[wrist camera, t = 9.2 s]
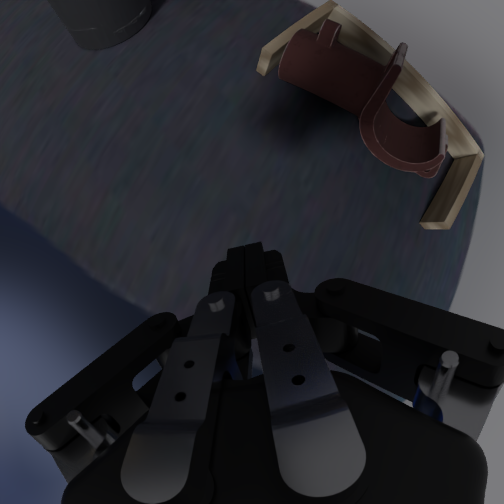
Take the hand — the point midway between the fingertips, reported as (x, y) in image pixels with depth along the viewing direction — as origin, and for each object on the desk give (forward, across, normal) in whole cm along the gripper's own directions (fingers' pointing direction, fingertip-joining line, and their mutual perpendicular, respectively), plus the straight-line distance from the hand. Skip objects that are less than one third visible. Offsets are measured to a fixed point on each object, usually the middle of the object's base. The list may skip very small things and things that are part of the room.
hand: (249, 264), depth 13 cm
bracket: (+17, -13, -5) cm, 22 cm away
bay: (+17, -14, -4) cm, 22 cm away
